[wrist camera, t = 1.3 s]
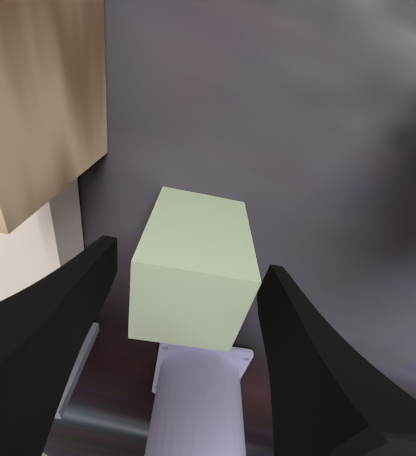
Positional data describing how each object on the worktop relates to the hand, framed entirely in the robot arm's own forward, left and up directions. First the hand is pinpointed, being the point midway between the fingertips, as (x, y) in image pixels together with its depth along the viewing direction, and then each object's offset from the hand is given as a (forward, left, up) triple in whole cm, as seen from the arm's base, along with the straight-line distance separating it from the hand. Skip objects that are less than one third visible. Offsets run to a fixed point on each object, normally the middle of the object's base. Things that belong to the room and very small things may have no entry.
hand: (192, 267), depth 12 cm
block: (0, 0, -4) cm, 4 cm away
